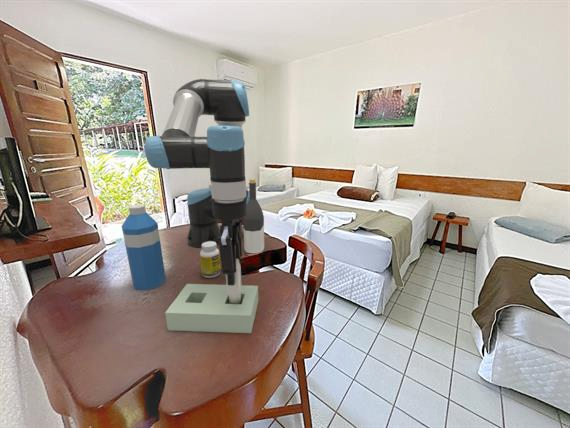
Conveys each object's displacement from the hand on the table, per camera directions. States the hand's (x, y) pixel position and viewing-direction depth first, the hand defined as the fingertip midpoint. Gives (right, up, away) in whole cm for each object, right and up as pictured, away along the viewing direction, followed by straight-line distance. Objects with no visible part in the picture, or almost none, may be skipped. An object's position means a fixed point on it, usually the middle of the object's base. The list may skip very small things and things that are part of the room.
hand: (234, 290), depth 61 cm
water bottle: (-31, -3, +17) cm, 35 cm away
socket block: (-5, -7, +2) cm, 9 cm away
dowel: (0, -4, +1) cm, 4 cm away
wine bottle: (0, +3, +38) cm, 38 cm away
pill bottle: (-12, -1, +22) cm, 25 cm away
